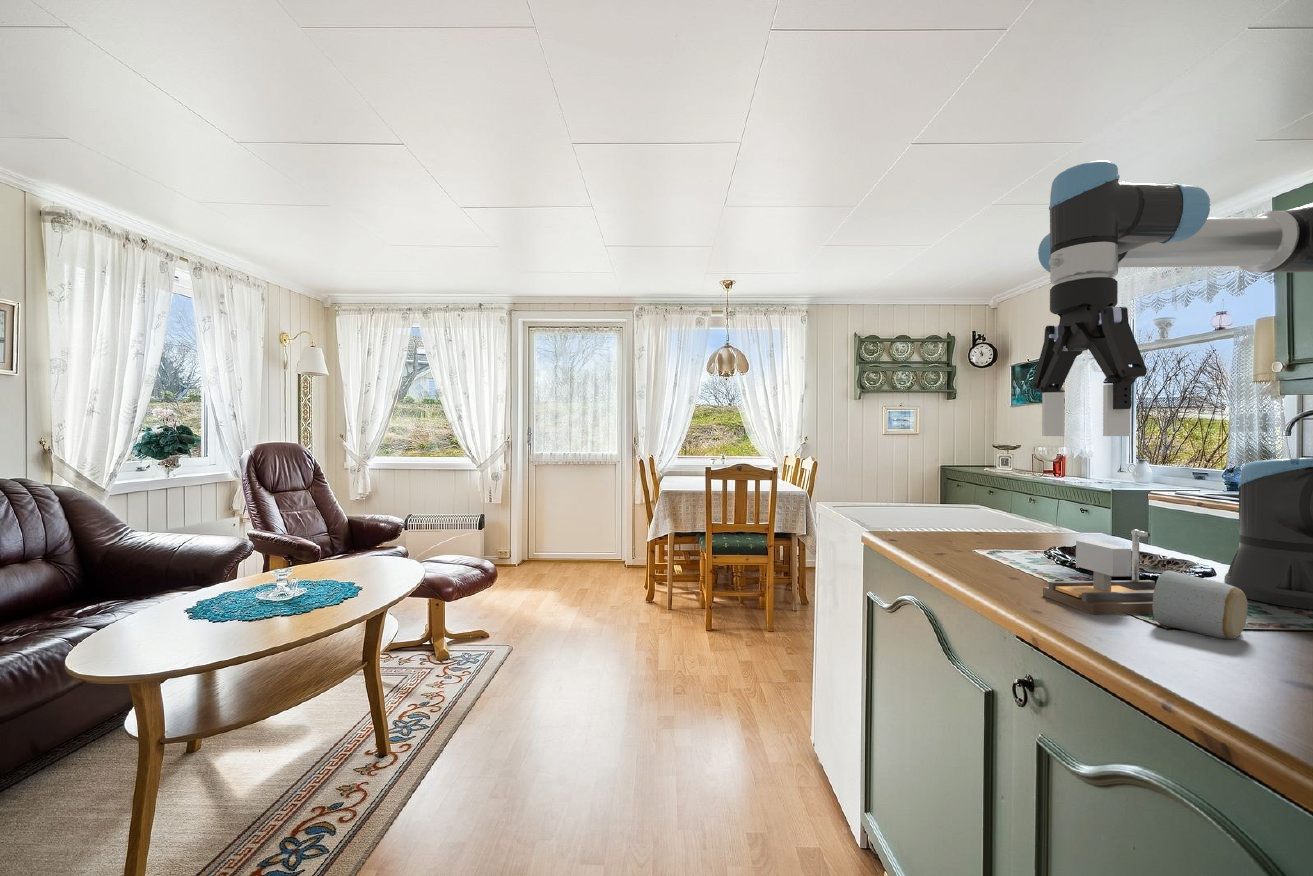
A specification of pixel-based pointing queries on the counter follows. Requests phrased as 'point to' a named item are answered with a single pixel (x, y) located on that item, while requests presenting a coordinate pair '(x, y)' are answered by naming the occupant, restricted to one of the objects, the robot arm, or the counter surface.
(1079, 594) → the white block on base
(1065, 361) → the robot arm
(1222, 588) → the ceramic mug
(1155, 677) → the counter surface
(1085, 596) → the brown piece
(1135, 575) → the keeper hook
